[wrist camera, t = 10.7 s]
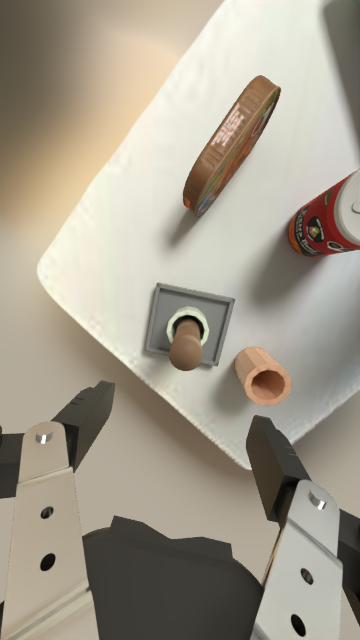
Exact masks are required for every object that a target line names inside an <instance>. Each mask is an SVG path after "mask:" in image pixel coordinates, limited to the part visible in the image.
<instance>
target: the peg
mask: <svg viewBox="0 0 360 640" xmlns="http://www.w3.org/2000/svg"><path fill="white" fill-rule="evenodd" d="M169 357H170V361H171V363H172V364H173V366H174V367H176V368H177V369H179V370H182V371H190V370H193V369H195V368H196V367H197V366H198V365H199V364H200V362H201V360H202V349H201V340H200V331H199V323H198V320H197V319H196V318H195V317H194V316H191V315H186V316H184V317H182V318H181V319H180V321H179V324H178V327H177V330H176V333H175V337H174V340H173V343H172V346H171V349H170V353H169Z"/></svg>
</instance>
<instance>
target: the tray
mask: <svg viewBox="0 0 360 640" xmlns="http://www.w3.org/2000/svg"><path fill="white" fill-rule="evenodd" d="M234 302H235V299H233V298H229V297H224V296H220V295H215V294H210V293H205V292H201V291H196V290H191V289H187V288H182V287H177V286H172V285H168V284H163V283H157V285H156V291H155V297H154V302H153V308H152V313H151V319H150V325H149V330H148V336H147V341H146V347H145V351H149V352H154V353H158V354H163V355H168V356H169V353H170V349H171V346H172V343H171V342H170V340H169V338H168V335H167V327H168V322H169V320H170V318H171V316H172V315H173V314H174V313H175V312H176V311H177V310H178V309H180V308H183V307H186V306H189V307H194V308H197V309H199V310H200V311H201V312H202V313H203V314H204V315H205V318H206V321H207V324H208V328H209V333H208V338H207V341H206V342H205V343H204V344H203V345H202V346H201V349H202V360H201V362H200V363H204V364H209V365H214V366H218V363H219V359H220V355H221V352H222V348H223V344H224V340H225V336H226V333H227V329H228V325H229V321H230V317H231V313H232V310H233V306H234ZM184 316H186V315H183V316H180V317H178V318H177V319H176V320H175V321H174V328H175V331H176V330H177V327H178V324H179V321H180V319H181V318H182V317H184ZM191 316H192V315H191ZM194 317H195V318H196V319H197V320H198V323H199V331H200V333H201V332H202V328H203V323H202V322H201V321H200V320H199V319H198V318H197V317H196V316H194Z"/></svg>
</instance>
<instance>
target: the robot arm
mask: <svg viewBox="0 0 360 640" xmlns="http://www.w3.org/2000/svg"><path fill="white" fill-rule="evenodd" d="M114 390H115V383H112V382H107V381H103V380H101V381H100V382H99V383H98V384H97V386H96V387H95V388H91V387H89V388H87V389H84V390H82V391H81V392H80V393H79V394H78V395H76V397H75V398H74V399H72V400H71V401H70V403H69V404H67V405H66V406H65V408H63V409H62V410H61V411H60V412H59V413H58V414H57V415H56V416H55V417H54V418H53V419H52V420H51V421H50V422H43V423H40V424H37V425H35V426H33V427H31V428H30V429H29V430H28V431H27V432H26V433H20V434H2V427H1V426H0V499H1V498H10V497H16V500H15V509H14V518H13V527H12V537H11V547H10V555H9V565H8V574H7V583H6V592H5V600H4V601H3V602H2V603H1V604H0V640H340V620H341V619H340V618H341V596H342V588H343V590H344V592H345V594H346V597H347V599H348V601H349V603H350V606H351V608H352V610H353V612H354V615H355V617H356V619H357V622H358V624H359V626H360V519H359V518H357V517H355V516H353V515H351V514H349V513H347V512H345V511H343V510H341V509H340V508H339V507H338V505H337V503H336V501H335V500H334V498H333V497H332V496H331V495H330V494H329V493H328V492H327V491H326V490H325V489H324V488H322V487H321V486H319V485H318V484H316V483H314V482H312V480H311V479H310V477H309V475H308V474H307V472H306V470H305V468H304V467H303V465H302V463H301V461H300V460H299V458H298V457H297V456H296V453H295V451H294V449H292V446H291V444H290V442H289V441H288V439H287V438H286V437H285V436H284V435H283V434H282V433H281V432H280V431H279V430H276V428H275V426H274V425H273V423H272V421H271V419H270V418H267V417H262V416H258V415H255V416H254V417H253V420H252V423H251V426H250V430H249V433H248V436H247V440H246V450H247V454H248V457H249V461H250V464H251V467H252V471H253V474H254V477H255V480H256V484H257V487H258V490H259V494H260V497H261V500H262V504H263V507H264V510H265V514H266V517H267V520H269V521H273V522H278V524H279V526H280V530H279V533H278V536H277V538H276V541H275V544H274V547H273V550H272V553H271V556H270V559H269V562H268V565H267V568H266V570H265V573H264V576H263V579H262V582H261V584H260V583H259V581H258V580H257V579H256V578H255V577H254V576H253V574H252V573H251V572H250V571H249V570H248V569H246V568H245V567H244V566H243V565H242V564H241V563H239V562H238V561H237V560H235V559H234V558H233V556H232V549H231V544H230V543H225V542H221V541H217V540H213V539H209V538H205V537H194V538H183V539H170V538H168V537H166V536H164V535H163V534H161V533H159V532H157V531H156V530H154V529H153V528H151V527H149V526H148V525H146V524H144V523H143V522H139V521H135V520H131V519H127V518H123V517H119V516H114V518H113V520H112V523H111V527H108V528H102V529H98V530H95V531H92V532H90V533H88V534H86V535H84V536H82V534H81V527H80V519H79V512H78V505H77V497H76V490H75V482H74V475H73V473H75V471H76V469H77V468H78V466H79V464H80V463H81V461H82V460H83V458H84V456H85V455H86V453H87V452H88V450H89V448H90V447H91V445H92V443H93V442H94V440H95V439H96V437H97V435H98V434H99V432H100V430H101V429H102V427H103V426H104V424H105V423H106V421H107V419H108V418H109V415H110V413H111V409H112V404H113V397H114Z"/></svg>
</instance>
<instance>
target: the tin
mask: <svg viewBox="0 0 360 640" xmlns="http://www.w3.org/2000/svg"><path fill="white" fill-rule="evenodd" d="M280 92H281V88H280V87H279V86H276V85H275V84H273V83H272V82H271V81H270V80H268V79H267V78H266V77H264V76H262V75H259V76H257V77H255V78H254V79H253V80H252V81H251V82H250V83H249V84H248V85H247V87H246V88H245V89H244V91H243V92H242V93H241V95H240V96H239V98H238V99H237V101H236V102H235V104H234V105H233V106H232V108H231V109H230V111H229V112H228V114H227V115H226V117H225V118H224V120H223V121H222V123H221V124H220V126H219V127H218V128H217V130H216V131H215V133H214V134H213V136H212V137H211V139H210V140H209V142H208V143H207V145H206V146H205V148H204V149H203V151H202V152H201V154H200V155H199V157H198V159H197V160H196V162H195V164H194V166H193V167H192V169H191V171H190V173H189V176H188V178H187V181H186V183H185V187H184V190H183V203H184V205H185V206H186V207H187V208H188V209H189V210H190V211H192V212H193V213H194V214H195V216H197V217H198V216H201V215H202V214H203V213H204V212H206V210H207V209H208V208H209V207H210V206H211V205H212V203H213V202H214V201H215V199H216V198H217V197H218V195H219V194H220V193H221V191H222V190H223V188H224V187H225V186H226V184H227V183H228V182H229V180H230V179H231V178H232V176H233V175H234V173H235V172H236V171H237V169H238V168H239V167H240V165H241V164H242V163H243V161H244V160H245V158H246V157H247V156H248V154H249V153H250V151H251V150H252V148H253V147H254V145H255V144H256V142H257V140H258V139H259V137H260V136H261V134H262V132H263V130H264V128H265V127H266V125H267V123H268V121H269V119H270V117H271V115H272V113H273V111H274V109H275V107H276V104H277V102H278V99H279V96H280Z"/></svg>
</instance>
